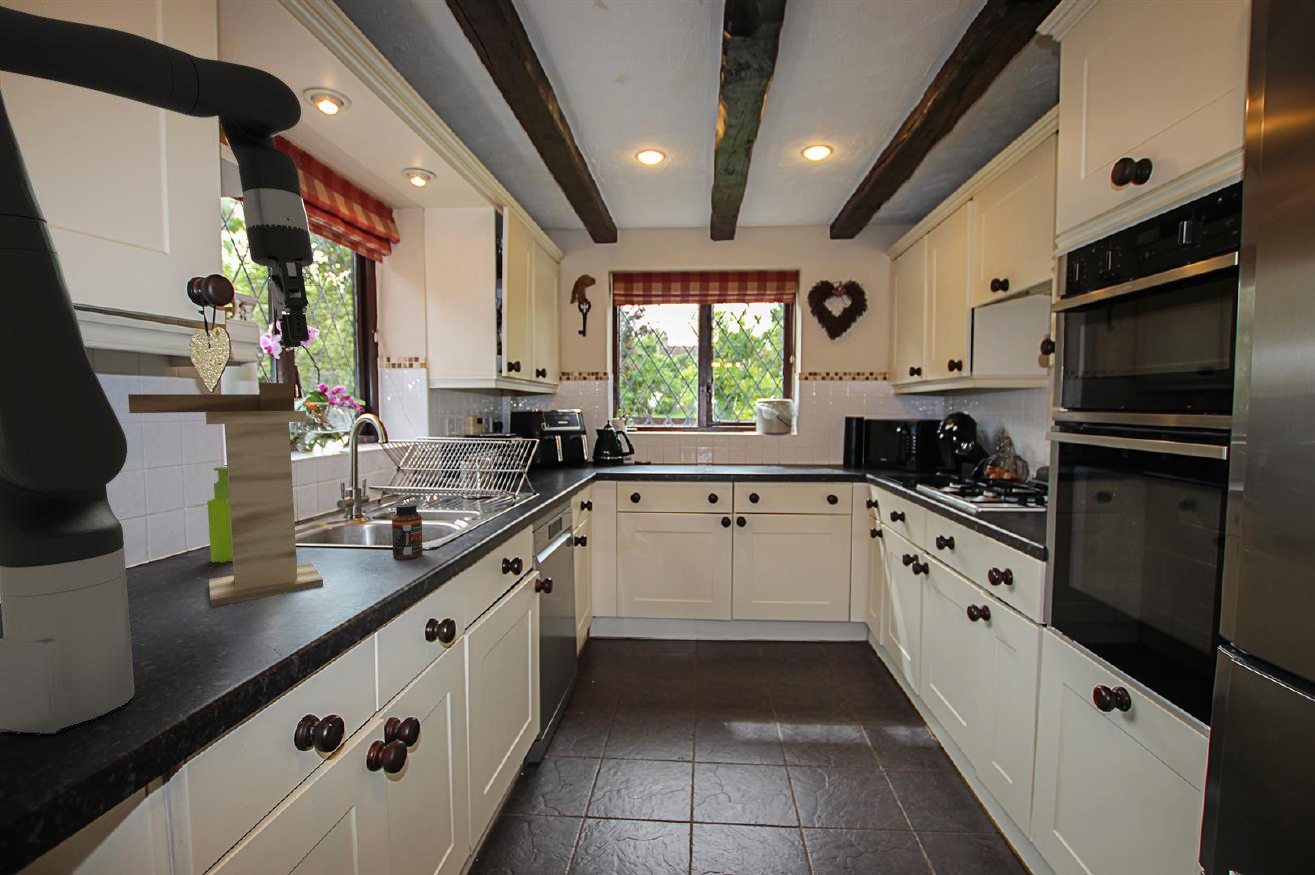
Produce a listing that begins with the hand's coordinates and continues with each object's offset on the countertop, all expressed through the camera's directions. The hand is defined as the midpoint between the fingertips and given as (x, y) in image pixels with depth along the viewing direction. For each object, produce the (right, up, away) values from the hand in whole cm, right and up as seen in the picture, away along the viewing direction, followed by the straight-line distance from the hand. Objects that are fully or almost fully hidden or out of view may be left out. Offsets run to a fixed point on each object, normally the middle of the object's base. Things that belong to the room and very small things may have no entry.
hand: (296, 344), depth 80 cm
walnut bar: (-23, -9, +15) cm, 29 cm away
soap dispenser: (-40, -40, +38) cm, 68 cm away
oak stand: (-19, -41, +21) cm, 50 cm away
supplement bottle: (-1, -40, +39) cm, 56 cm away
